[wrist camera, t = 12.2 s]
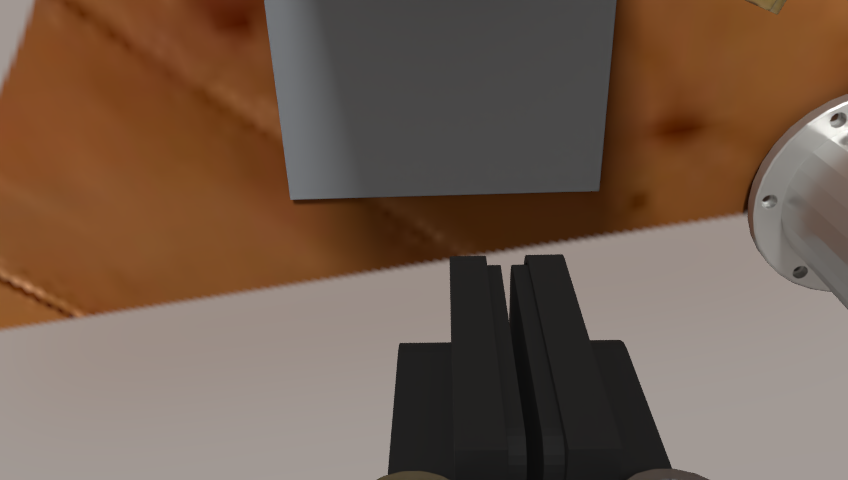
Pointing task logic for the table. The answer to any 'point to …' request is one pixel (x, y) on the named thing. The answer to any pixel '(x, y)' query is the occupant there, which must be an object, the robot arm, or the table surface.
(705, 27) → the table surface
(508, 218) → the table surface
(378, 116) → the mat
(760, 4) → the book
